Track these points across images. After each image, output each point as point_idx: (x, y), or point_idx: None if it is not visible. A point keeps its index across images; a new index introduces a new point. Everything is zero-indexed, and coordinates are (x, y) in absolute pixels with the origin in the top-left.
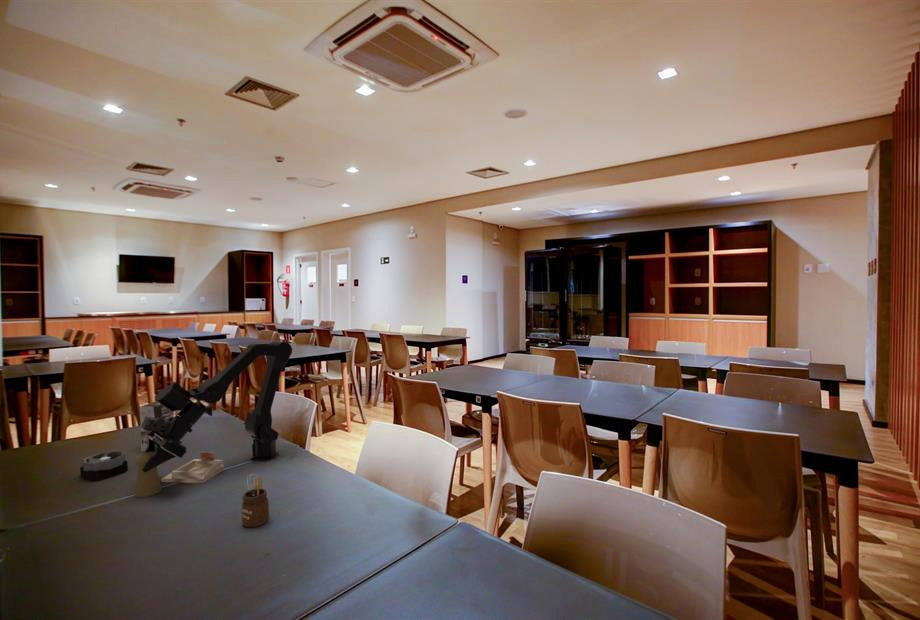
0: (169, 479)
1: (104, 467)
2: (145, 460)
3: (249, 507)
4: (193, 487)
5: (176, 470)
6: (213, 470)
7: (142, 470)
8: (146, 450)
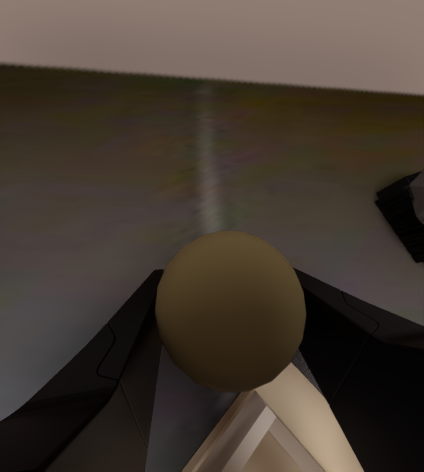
0: None
1: (421, 199)
2: (160, 285)
3: None
4: None
5: (272, 432)
6: None
7: (155, 270)
8: (339, 310)
